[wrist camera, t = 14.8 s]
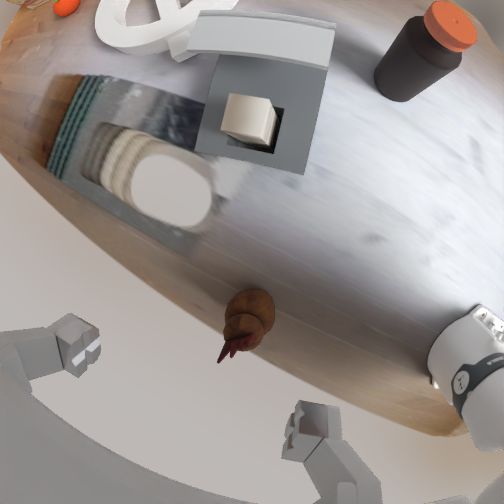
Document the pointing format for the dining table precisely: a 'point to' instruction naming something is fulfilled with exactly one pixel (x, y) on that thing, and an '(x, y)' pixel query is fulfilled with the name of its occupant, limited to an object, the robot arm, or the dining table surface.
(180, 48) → the ring with crossbar
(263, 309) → the wooden figurine
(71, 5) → the clementine
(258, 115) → the peg
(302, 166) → the socket block
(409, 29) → the bottle
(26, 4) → the coffeecake box
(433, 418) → the dining table surface
